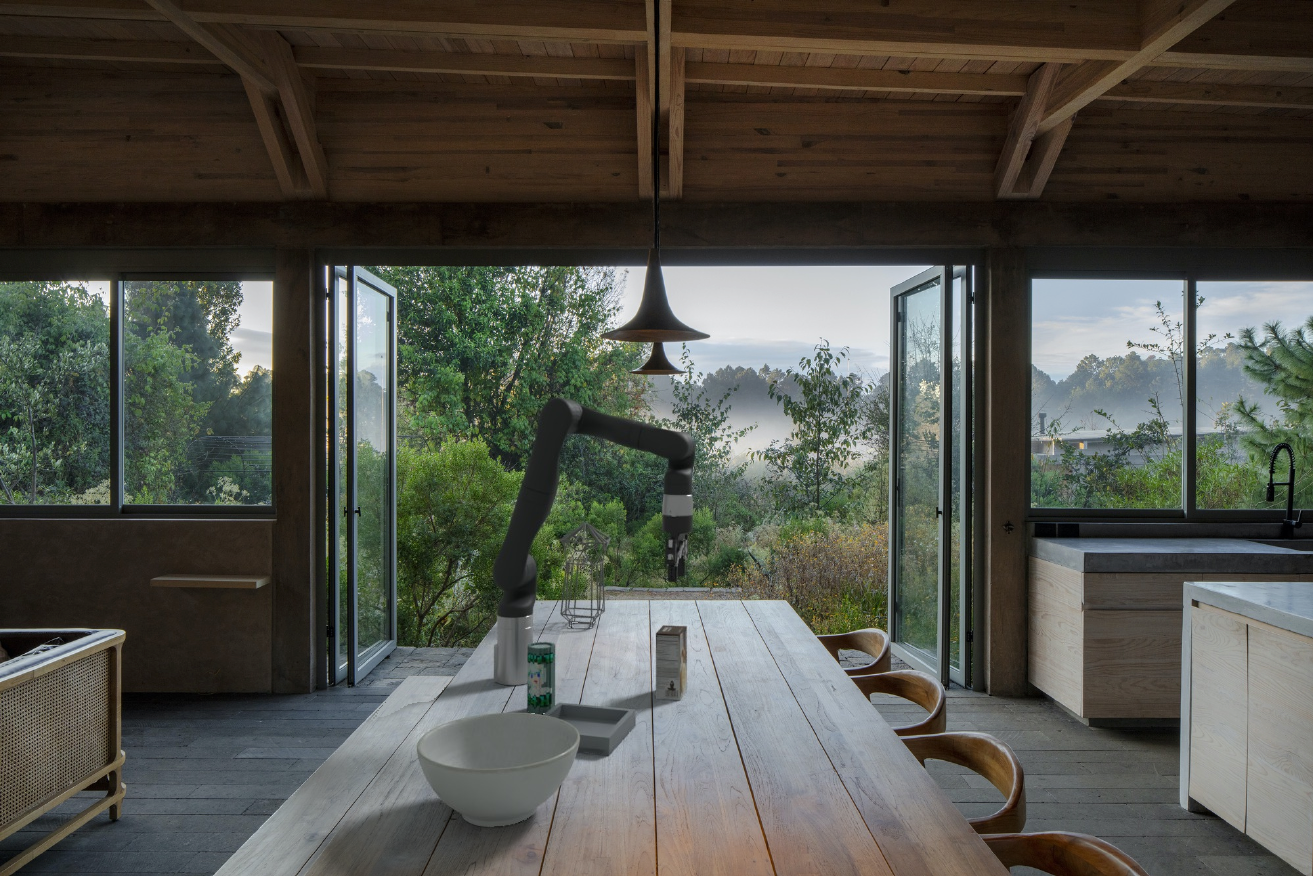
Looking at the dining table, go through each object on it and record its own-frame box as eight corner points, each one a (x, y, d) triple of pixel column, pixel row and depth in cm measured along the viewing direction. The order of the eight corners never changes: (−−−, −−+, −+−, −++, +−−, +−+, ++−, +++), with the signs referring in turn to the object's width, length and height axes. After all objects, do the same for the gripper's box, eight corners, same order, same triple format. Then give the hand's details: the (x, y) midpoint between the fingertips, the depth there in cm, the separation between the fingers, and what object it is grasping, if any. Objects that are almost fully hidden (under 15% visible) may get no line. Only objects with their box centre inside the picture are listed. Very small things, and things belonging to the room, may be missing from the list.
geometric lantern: (565, 620, 286) (569, 520, 287) (610, 623, 284) (613, 522, 285) (554, 630, 271) (557, 523, 271) (600, 632, 268) (604, 525, 269)
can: (523, 712, 187) (523, 647, 187) (535, 704, 193) (536, 641, 193) (546, 715, 185) (547, 649, 185) (558, 707, 191) (559, 643, 191)
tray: (525, 746, 166) (525, 729, 166) (558, 718, 184) (558, 702, 184) (609, 755, 162) (609, 737, 162) (635, 725, 179) (635, 709, 179)
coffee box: (662, 688, 207) (662, 624, 207) (687, 689, 205) (687, 625, 206) (655, 699, 198) (655, 632, 198) (681, 701, 196) (681, 633, 197)
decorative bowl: (432, 780, 149) (433, 714, 150) (580, 776, 152) (580, 710, 152) (399, 853, 123) (399, 772, 123) (578, 846, 125) (579, 767, 125)
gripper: (669, 510, 209) (668, 573, 209) (655, 514, 195) (654, 582, 195) (698, 511, 207) (697, 575, 207) (686, 515, 193) (685, 584, 193)
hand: (676, 579), depth 201 cm, fingers open, 8 cm apart
